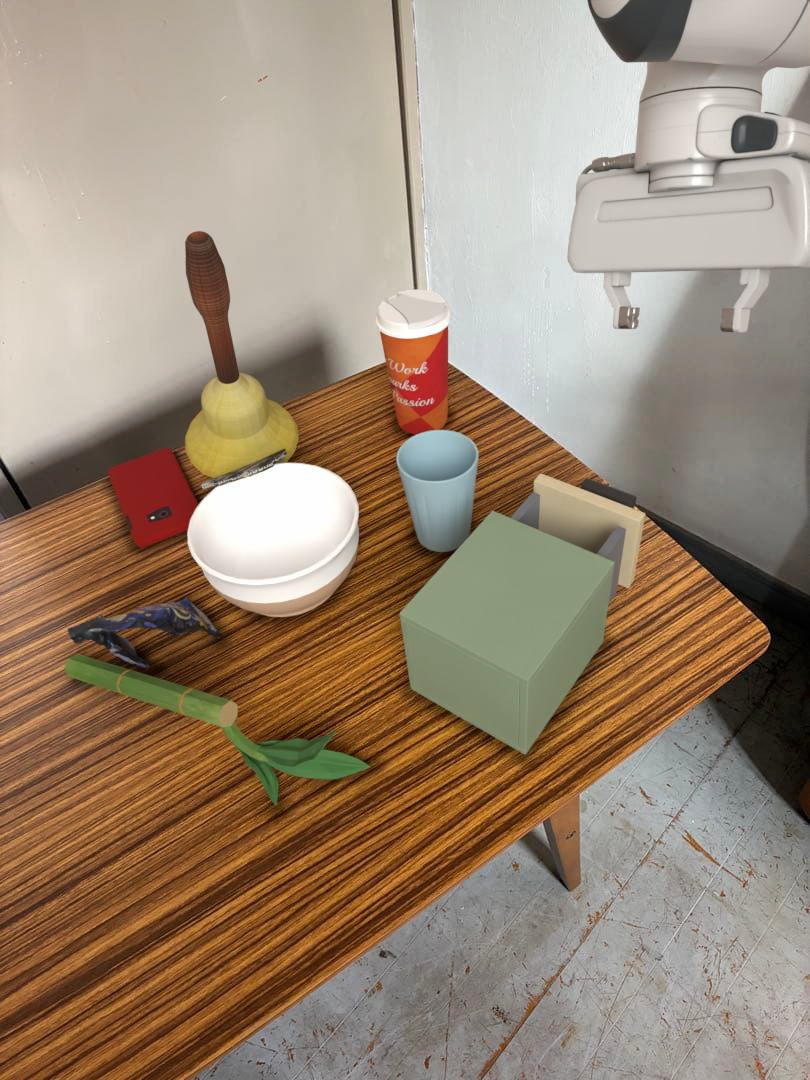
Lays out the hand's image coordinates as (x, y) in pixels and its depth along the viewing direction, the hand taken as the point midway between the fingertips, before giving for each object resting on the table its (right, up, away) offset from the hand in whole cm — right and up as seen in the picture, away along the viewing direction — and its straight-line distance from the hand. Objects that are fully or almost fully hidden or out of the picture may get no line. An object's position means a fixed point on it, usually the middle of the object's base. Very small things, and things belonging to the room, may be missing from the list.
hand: (676, 330), depth 65 cm
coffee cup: (-20, -3, +30) cm, 36 cm away
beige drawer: (-7, -21, +9) cm, 24 cm away
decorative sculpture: (-34, -8, +18) cm, 39 cm away
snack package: (-51, -27, +5) cm, 58 cm away
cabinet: (-13, -28, +4) cm, 31 cm away
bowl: (-34, -21, +14) cm, 42 cm away
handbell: (-40, -6, +22) cm, 46 cm away
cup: (-18, -17, +16) cm, 30 cm away
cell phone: (-50, -12, +23) cm, 57 cm away
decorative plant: (-39, -34, +2) cm, 52 cm away
